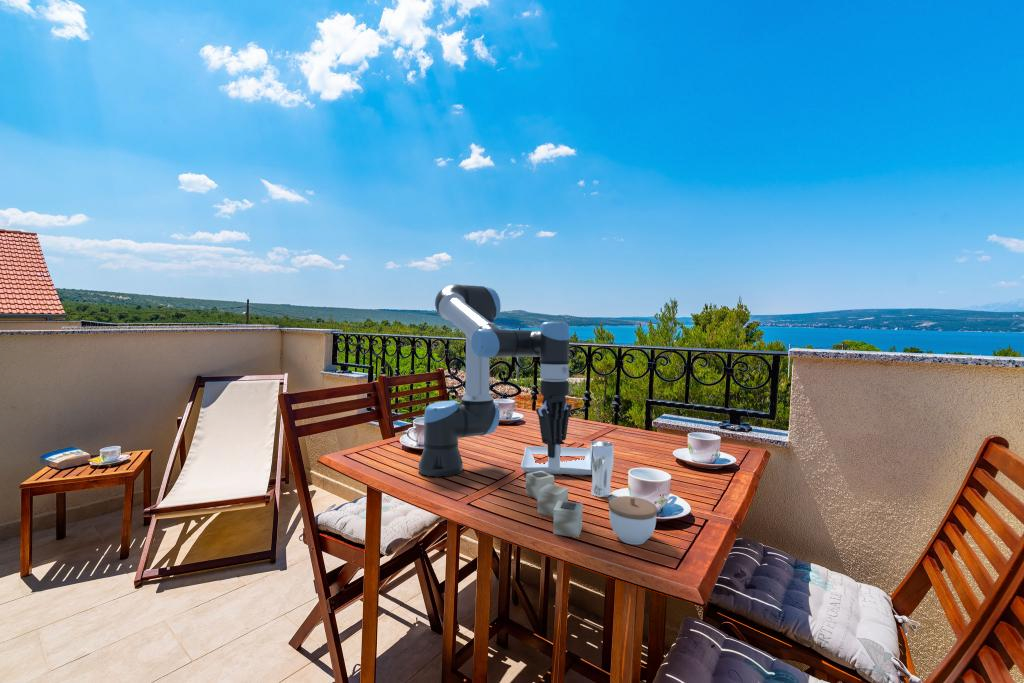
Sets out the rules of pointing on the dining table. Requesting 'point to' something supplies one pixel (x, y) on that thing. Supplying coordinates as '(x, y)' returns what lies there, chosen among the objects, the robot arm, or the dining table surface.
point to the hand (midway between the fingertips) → (554, 468)
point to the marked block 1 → (537, 482)
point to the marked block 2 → (567, 518)
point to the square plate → (565, 467)
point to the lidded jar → (632, 519)
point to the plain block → (550, 498)
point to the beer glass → (601, 467)
